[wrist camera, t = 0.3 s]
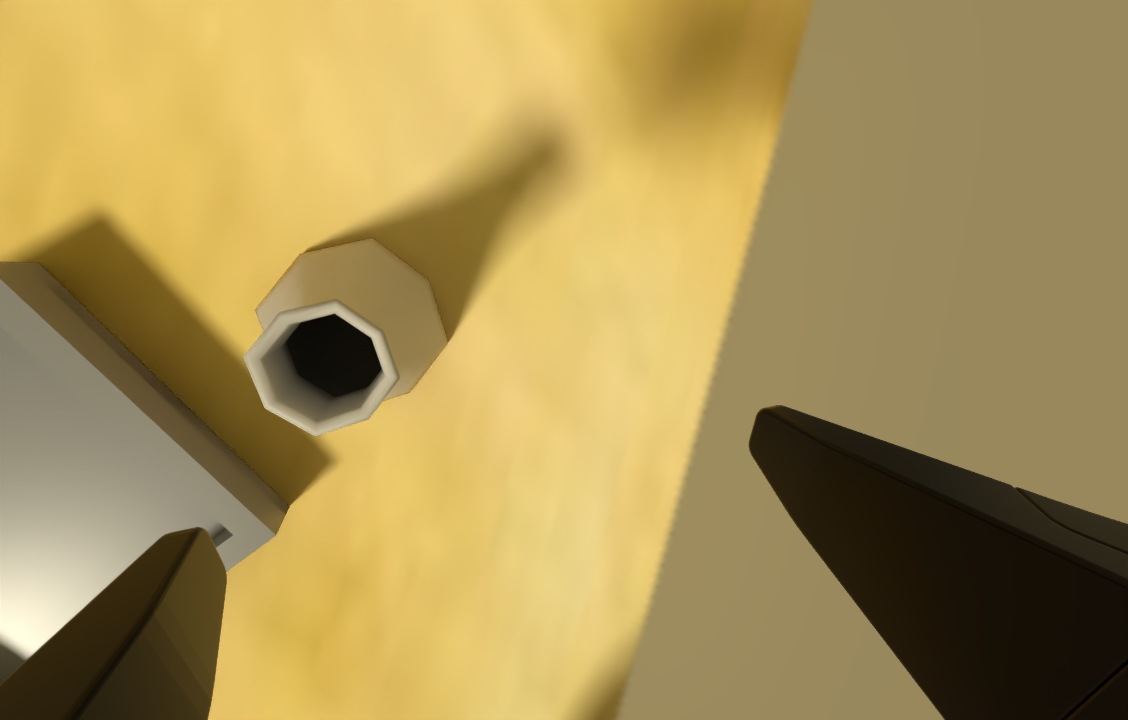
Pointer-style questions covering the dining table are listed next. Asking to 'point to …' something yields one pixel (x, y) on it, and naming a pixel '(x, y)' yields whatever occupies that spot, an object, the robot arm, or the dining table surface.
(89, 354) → the caddy tray
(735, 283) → the dining table surface
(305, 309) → the flask
